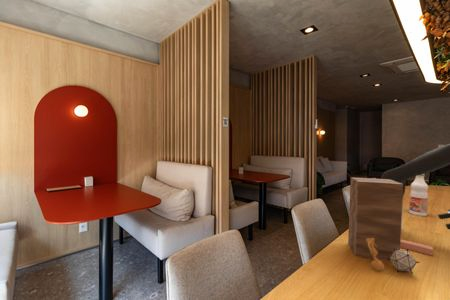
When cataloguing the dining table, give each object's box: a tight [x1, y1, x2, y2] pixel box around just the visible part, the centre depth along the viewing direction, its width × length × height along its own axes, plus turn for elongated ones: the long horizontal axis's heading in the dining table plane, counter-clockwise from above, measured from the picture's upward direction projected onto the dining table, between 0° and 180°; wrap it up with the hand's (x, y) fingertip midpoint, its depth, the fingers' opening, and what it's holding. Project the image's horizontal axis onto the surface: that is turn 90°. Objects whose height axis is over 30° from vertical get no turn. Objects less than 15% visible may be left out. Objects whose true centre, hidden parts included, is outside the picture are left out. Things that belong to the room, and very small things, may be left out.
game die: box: [387, 248, 421, 274], centre depth 85 cm, size 9×8×10 cm
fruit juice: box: [408, 173, 429, 217], centre depth 154 cm, size 9×9×28 cm
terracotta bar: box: [400, 239, 434, 256], centre depth 106 cm, size 4×22×3 cm, turn 47°
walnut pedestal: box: [347, 176, 404, 262], centre depth 99 cm, size 12×16×32 cm
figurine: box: [366, 238, 385, 272], centre depth 86 cm, size 8×6×12 cm
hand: (442, 221), depth 103 cm, fingers open, 8 cm apart
